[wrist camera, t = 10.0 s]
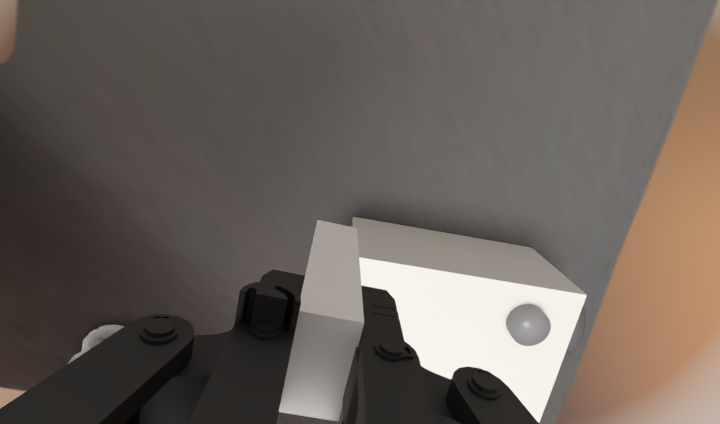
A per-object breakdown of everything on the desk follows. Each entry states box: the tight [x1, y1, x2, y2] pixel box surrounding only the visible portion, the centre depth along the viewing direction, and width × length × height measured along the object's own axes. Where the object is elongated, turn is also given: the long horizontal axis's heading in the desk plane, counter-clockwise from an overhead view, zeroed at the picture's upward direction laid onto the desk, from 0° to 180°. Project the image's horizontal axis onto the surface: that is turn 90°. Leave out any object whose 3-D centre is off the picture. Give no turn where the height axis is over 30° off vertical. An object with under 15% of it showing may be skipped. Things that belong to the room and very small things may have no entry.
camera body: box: [351, 217, 587, 422], centre depth 37 cm, size 21×12×11 cm, turn 79°
